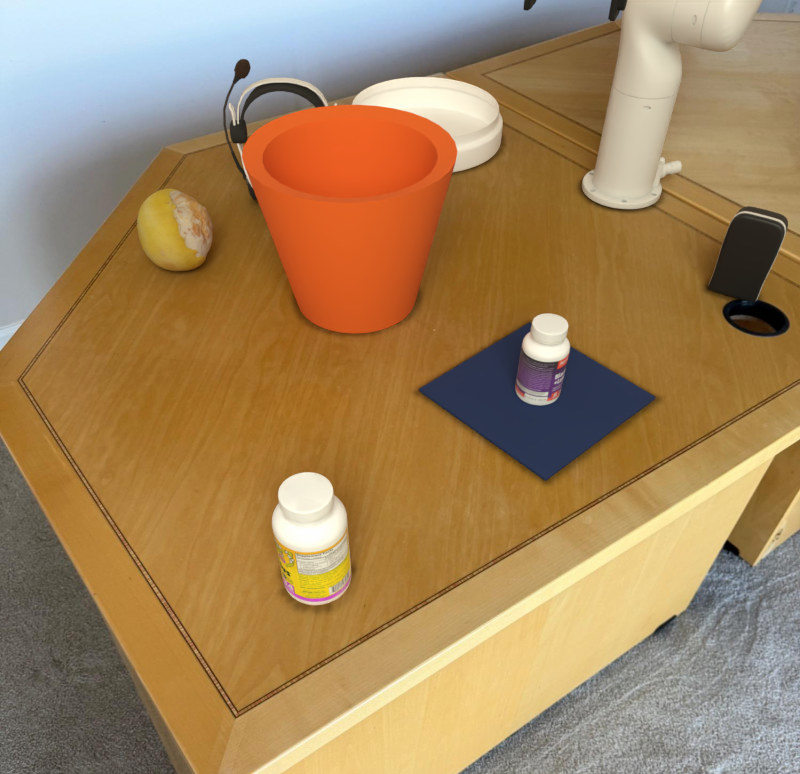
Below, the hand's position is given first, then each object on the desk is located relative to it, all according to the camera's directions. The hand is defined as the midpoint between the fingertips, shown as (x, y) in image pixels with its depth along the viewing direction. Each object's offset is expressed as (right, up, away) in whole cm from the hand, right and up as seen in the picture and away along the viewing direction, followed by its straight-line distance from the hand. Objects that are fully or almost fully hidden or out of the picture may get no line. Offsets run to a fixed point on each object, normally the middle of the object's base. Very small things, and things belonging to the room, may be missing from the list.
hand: (571, 11), depth 86 cm
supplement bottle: (-27, -64, -12) cm, 70 cm away
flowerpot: (-25, -27, +18) cm, 41 cm away
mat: (-3, -42, +6) cm, 43 cm away
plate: (-15, +11, +49) cm, 52 cm away
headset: (-36, -6, +35) cm, 51 cm away
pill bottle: (-3, -42, +5) cm, 43 cm away
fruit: (-50, -20, +23) cm, 59 cm away
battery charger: (+27, -25, +20) cm, 42 cm away
